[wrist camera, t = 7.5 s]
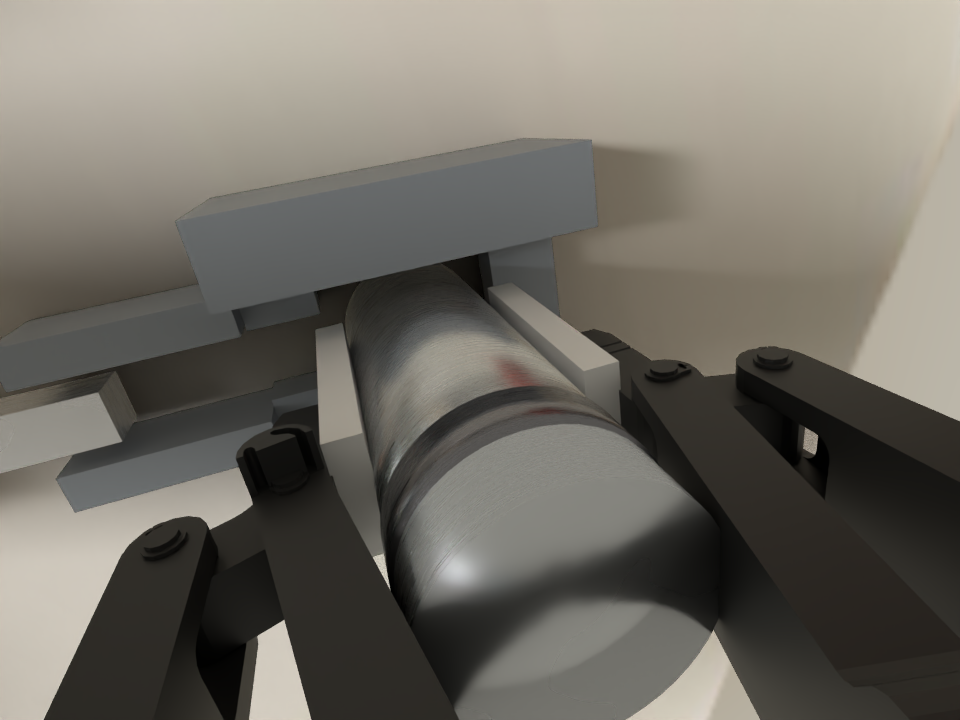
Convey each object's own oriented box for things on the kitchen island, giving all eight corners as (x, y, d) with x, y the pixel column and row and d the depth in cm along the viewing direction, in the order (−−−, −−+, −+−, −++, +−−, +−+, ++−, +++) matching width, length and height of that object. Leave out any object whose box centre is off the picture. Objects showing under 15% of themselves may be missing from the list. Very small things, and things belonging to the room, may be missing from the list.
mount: (133, 522, 20) (82, 635, 15) (-15, 240, 16) (-141, 283, 11) (555, 400, 23) (615, 466, 18) (523, 138, 19) (591, 139, 14)
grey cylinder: (362, 400, 19) (444, 800, 8) (326, 273, 18) (364, 549, 6) (486, 366, 20) (729, 682, 9) (465, 242, 18) (737, 430, 7)
